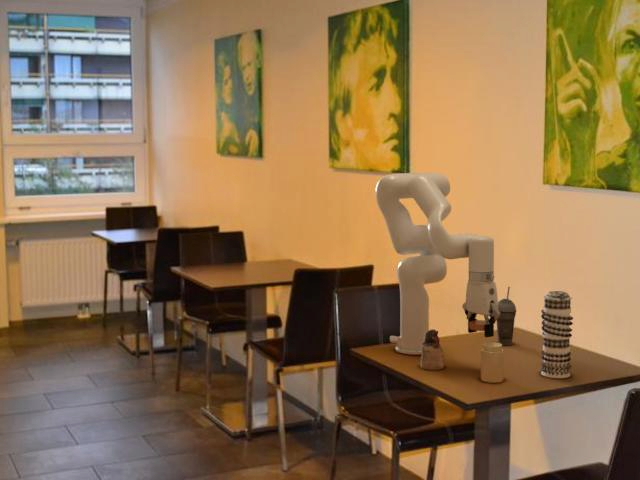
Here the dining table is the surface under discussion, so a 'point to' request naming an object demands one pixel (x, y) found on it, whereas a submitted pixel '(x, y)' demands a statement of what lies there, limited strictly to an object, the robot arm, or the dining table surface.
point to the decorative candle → (556, 335)
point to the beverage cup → (506, 320)
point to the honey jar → (492, 362)
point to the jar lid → (477, 325)
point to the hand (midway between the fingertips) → (480, 334)
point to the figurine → (432, 352)
